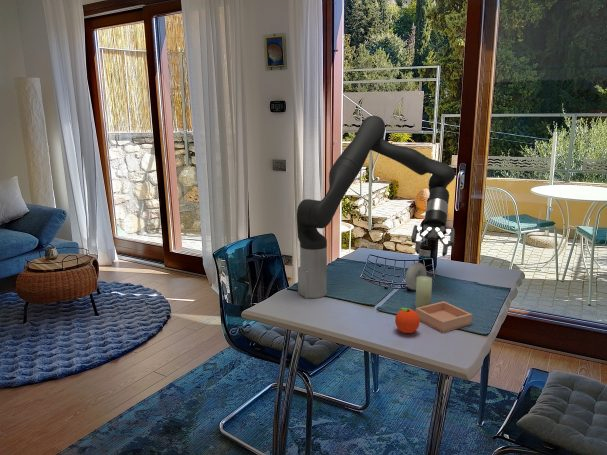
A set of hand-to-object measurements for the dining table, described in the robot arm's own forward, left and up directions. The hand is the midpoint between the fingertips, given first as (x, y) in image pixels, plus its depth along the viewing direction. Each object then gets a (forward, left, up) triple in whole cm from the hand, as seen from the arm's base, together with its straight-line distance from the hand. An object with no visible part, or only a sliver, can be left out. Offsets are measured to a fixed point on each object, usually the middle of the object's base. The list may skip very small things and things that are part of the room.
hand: (430, 254), depth 162 cm
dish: (-11, -19, -15) cm, 26 cm away
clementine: (-25, -18, -15) cm, 35 cm away
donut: (0, +6, -15) cm, 16 cm away
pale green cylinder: (-9, -8, -15) cm, 19 cm away
